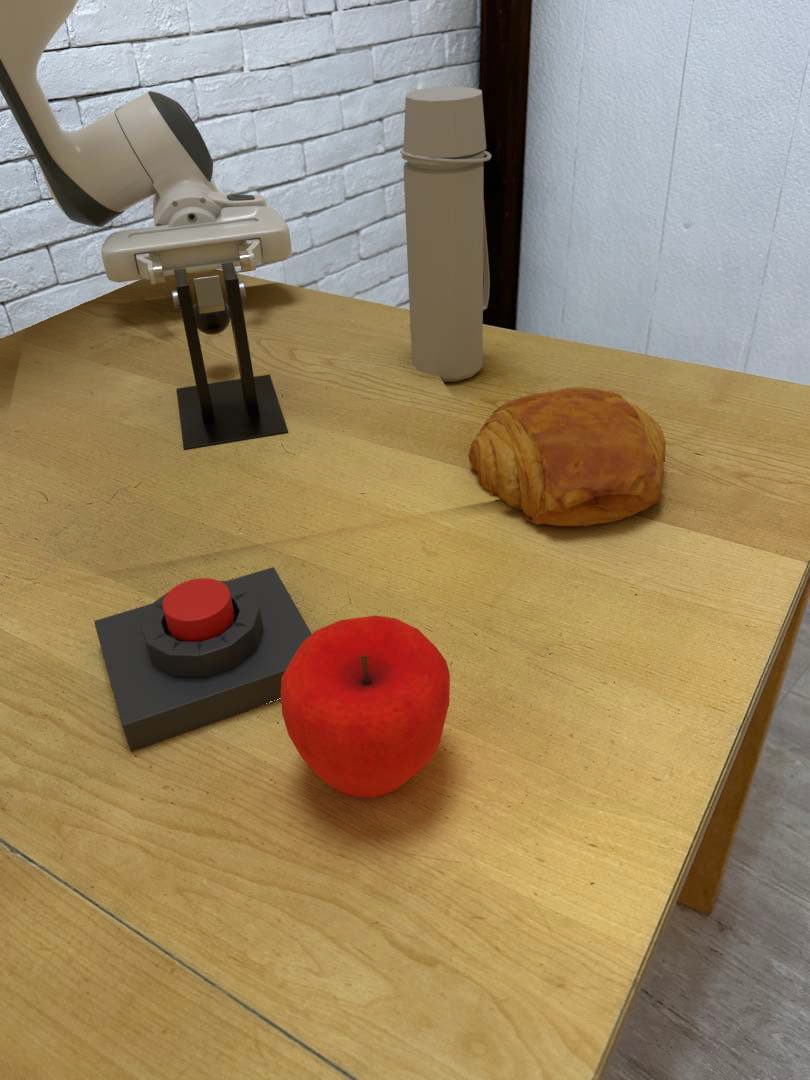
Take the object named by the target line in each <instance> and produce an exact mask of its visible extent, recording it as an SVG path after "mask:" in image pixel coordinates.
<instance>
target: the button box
mask: <svg viewBox="0 0 810 1080" xmlns="http://www.w3.org/2000/svg"><path fill="white" fill-rule="evenodd" d="M219 581H220V582H222V583H224V584H225V585H226V586H227V587H228V589H229V591H230V594H231V599H232V604H233V609H234V620H233V623H232V625H231V626H230V627H229V629H228V630H226V631H225V632H224V633H223V634H221V635H220V636H217V637H214V638H211V639H208V640H204V641H201V642H185V641H181V640H179V639H177V638H175V637H174V636H173V635H172V634H171V633H170V632H169V630H168V626H167V622H166V618H165V615H164V611H163V605H162V604H163V600H164V598H165V596H166V595H167V593H168V592H166V593H164V594H163V595H162V596H160V597H159V598H158V599H157V600H155V601H153V602H152V603H149V604H145V605H142V606H139V607H136V608H132V609H129V610H125V611H122V612H120V613H115V614H113V615H109V616H106V617H102V618H99V619H96V620H94V622H93V624H94V628H95V631H96V634H97V638H98V642H99V645H100V649H101V653H102V657H103V660H104V664H105V668H106V672H107V675H108V679H109V682H110V687H111V689H112V694H113V697H114V701H115V704H116V708H117V713H118V716H119V719H120V723H121V727H122V730H123V733H124V736H125V739H126V742H127V745H128V748H129V751H130V752H131V753H132V752H134V751H135V752H136V751H138V750H140V749H144V748H146V747H149V746H152V745H155V744H157V743H160V742H163V741H166V740H169V739H172V738H175V737H177V736H180V735H185V734H186V733H188V732H192V731H195V730H197V729H201V728H204V727H207V726H209V725H212V724H215V723H218V722H221V721H223V720H227V719H229V718H232V717H235V716H238V715H241V714H244V713H246V712H250V711H252V710H255V709H258V708H260V707H259V706H261V705H263V704H266V703H269V702H270V701H274V700H277V699H279V698H281V679H282V676H283V674H284V672H285V671H286V669H287V667H288V666H289V664H290V662H291V660H292V659H293V657H294V655H295V654H296V652H297V650H298V649H299V647H300V645H301V644H302V643H303V642H304V641H305V640H306V639H307V638H308V637H309V636H310V635H311V634H313V632H311V630H310V628H309V626H308V624H307V623H306V621H305V619H304V618H303V616H302V614H301V612H300V611H299V609H298V607H297V605H296V603H295V601H294V600H293V598H292V596H291V595H290V593H289V591H288V590H287V588H286V586H285V584H284V582H283V581H282V579H281V577H280V575H279V574H278V572H277V570H276V569H275V567H274V566H272V567H269V568H266V569H262V570H259V571H255V572H251V573H249V574H245V575H242V576H239V577H236V578H233V579H228V580H219ZM257 707H258V708H257ZM261 707H262V706H261ZM254 708H255V709H254ZM251 709H252V710H251ZM240 713H241V714H240ZM237 714H238V715H237Z"/></svg>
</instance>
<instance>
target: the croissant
mask: <svg viewBox="0 0 810 1080" xmlns="http://www.w3.org/2000/svg"><path fill="white" fill-rule="evenodd" d="M666 443H667V442H666V439H665V435H664V430H662V428H661V426H660V424H659V423H658V421H657V420H656V419H654V418H653V417H652V416H651V415H650V414H648V413H647V412H646V411H644V409H641V408H640V407H639V406H638V405H637V404H634V403H629V401H628V400H627V399H625V398H624V397H623V396H622V394H620V393H616V392H614V391H612V390H611V391H610V390H609V391H608V390H604V389H599V388H594V387H584V386H575V387H572V386H571V387H564V388H559V389H556V390H551V391H543V392H534V393H532V394H528V395H525V396H522V397H518V398H517V397H516V398H515V399H512V400H509V401H506V402H504V403H503V404H501V406H499V407H498V408H496V409H495V410H494V411H493V412H492V414H491V415H490V416H489V417H488V418H487V419H486V420H485V422H484V423H483V424H482V427H481V428H480V430H479V432H478V433H477V434H476V436H475V437H474V439H473V440H472V442H471V444H470V448H469V452H468V454H467V456H468V461H469V463H470V465H471V467H472V469H473V470H474V471H475V472H476V473H477V482H478V483H479V484H480V485H481V486H482V488H483V489H484V490H486V491H487V492H489V493H490V495H491V497H494V496H495V495H498V498H499V499H495V501H496V502H499V500H500V501H503V502H505V503H506V504H507V505H508V506H509V507H512V508H514V509H517V510H522V512H521V513H520V515H521V516H522V518H524V520H526V522H530V523H532V524H535V525H548V526H556V527H582V526H583V527H588V526H593V525H599V524H600V525H602V524H611V523H613V522H617V521H621V520H623V519H626V518H629V517H631V516H634V515H636V514H638V513H639V512H642V511H646V509H648V508H650V507H651V506H653V505H656V504H657V503H658V502H659V501H660V500H661V499H662V498H663V497H664V494H663V491H662V485H663V479H664V473H665V467H664V463H665V462H666Z"/></svg>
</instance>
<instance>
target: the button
mask: <svg viewBox="0 0 810 1080" xmlns="http://www.w3.org/2000/svg"><path fill="white" fill-rule="evenodd" d="M220 581H221V580H218V579H215V578H207V577H200V578H193V579H190V580H185V581H184V582H183V581H182V582H181V583H179V584H176V585H175V586H174V587H172V588H171V589H170V590H168V592H166V593H167V595H166V596H165V598H164V600H163V604H162V605H163V611H164V615H165V618H166V622H167V626H168V630H169V632H170V633H171V634H172V635H173V636H174V637H175V638H177V639H179V640H181V641H185V642H201V641H204V640H208V639H211V638H214V637H217V636H220V635H221V634H223V633H224V632H225V631H226V630H228V629H229V627H230V626H231V625H232V623H233V620H234V609H233V604H232V599H231V594H230V591H229V589H228V587H227V586H226V585H225V584H224V583H222V582H220Z"/></svg>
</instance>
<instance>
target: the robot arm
mask: <svg viewBox="0 0 810 1080" xmlns="http://www.w3.org/2000/svg"><path fill="white" fill-rule="evenodd" d="M78 2H79V0H0V93H1V96H2V97H3V99H4V101H5V103H6V105H7V106H8V108H9V110H10V112H11V114H12V116H13V118H14V120H15V122H16V124H17V125H18V127H19V129H20V131H21V133H22V135H23V137H24V138H25V141H26V142H27V145H28V146H29V148H30V150H31V152H32V153H33V155H34V157H35V159H36V161H37V163H38V165H39V167H40V170H41V173H42V176H43V179H44V182H45V185H46V187H47V190H48V192H49V194H50V196H51V197H52V199H53V201H54V203H55V204H56V205H57V207H58V208H59V210H60V211H61V212H62V213H63V214H64V215H65V216H66V217H67V218H68V219H69V220H70V221H73V222H75V223H77V224H81V225H86V226H89V227H97V228H103V227H105V226H106V225H107V224H109V223H110V222H112V221H113V220H115V219H116V218H118V217H119V216H121V215H122V214H124V213H125V211H126V210H128V209H130V208H132V207H133V206H135V205H137V204H139V203H141V202H143V201H144V200H146V199H148V198H150V197H152V196H153V198H152V217H153V226H147V227H146V226H145V227H138V228H129V229H123V230H118V231H115V232H112V233H111V234H109V235H108V236H107V237H106V239H105V240H104V242H103V244H101V250H100V253H101V258H102V262H103V268H104V270H105V274H106V278H107V279H108V280H109V281H110V282H114V283H125V282H132V281H140V280H147V281H150V284H151V285H158V284H164V283H166V277H170V276H175V274H174V270H176V269H183V268H186V272H187V274H195V275H196V274H197V275H199V274H206V273H210V272H212V271H216V270H222V265H221V264H222V263H230V262H233V264H234V267H235V268H237V267H240V270H241V272H242V273H246V272H254V271H256V270H257V268H256V267H257V266H258V265H261V264H266V263H274V262H283V261H287V260H288V259H290V258H291V257H292V254H293V250H292V240H291V233H290V228H289V225H288V223H287V221H286V220H285V218H284V217H283V216H282V215H281V214H280V212H279V211H278V210H276V209H275V208H272V207H270V206H268V205H267V201H266V198H265V197H264V196H262V195H260V194H228V193H223V192H221V191H220V190H219V189H218V187H217V186H216V184H215V183H214V182H213V180H212V179H213V174H214V161H213V159H212V155H211V153H210V151H209V149H208V147H207V144H206V142H205V140H204V138H203V136H202V134H201V133H200V131H199V129H198V127H197V125H196V124H195V122H194V120H193V119H192V118H191V117H190V115H189V113H188V112H187V111H186V110H185V108H184V107H183V106H182V105H181V104H180V103H179V102H178V101H176V100H175V99H173V98H171V97H169V96H166V95H165V94H163V93H160V92H156V91H151V90H148V92H144V93H143V94H141V95H140V96H138V97H135V98H133V99H132V100H130V101H128V102H126V103H124V104H123V105H121V106H119V107H117V108H115V109H114V110H113V111H111V112H110V113H108V114H106V115H104V116H103V117H100V118H99V119H97V120H94V121H93V122H92V123H89V124H88V125H86V126H85V127H82V128H81V129H78V130H76V131H65V130H63V129H62V127H61V125H60V123H59V121H58V119H57V117H56V115H55V112H54V111H53V109H52V106H51V105H50V103H49V100H48V99H47V96H46V94H45V92H44V90H43V88H42V86H41V83H40V81H39V79H38V78H37V69H38V65H39V62H40V59H41V57H42V55H43V53H44V52H45V50H46V48H47V46H48V44H49V43H50V41H51V40H52V39H53V37H54V36H55V35H56V33H57V32H58V31H59V30H60V28H61V27H62V26H63V24H64V23H65V22H66V21H67V20H68V18H69V17H70V16H71V14H72V13H73V11H74V9H75V8H76V6H77V4H78Z"/></svg>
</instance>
